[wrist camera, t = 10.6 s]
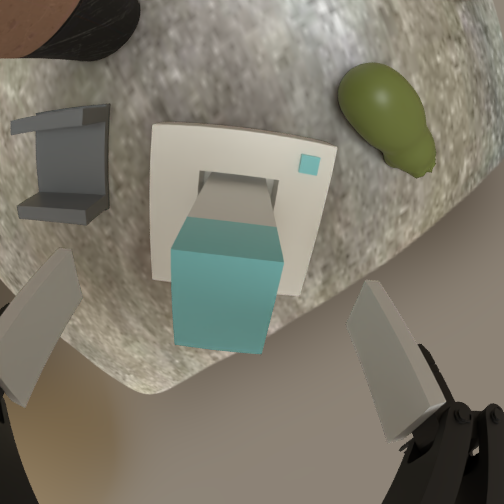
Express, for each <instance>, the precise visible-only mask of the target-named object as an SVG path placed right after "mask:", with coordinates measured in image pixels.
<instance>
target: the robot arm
mask: <svg viewBox="0 0 504 504" xmlns="http://www.w3.org/2000/svg"><path fill="white" fill-rule="evenodd" d="M82 298H83V296H82V292H81V288H80V284H79V280H78V276H77V272H76V268H75V263H74V258H73V254H72V249H66V248H58V249H57V250H56V251H55V252H54V253H53V254H52V255H51V256H50V258H49V259H48V260H47V261H46V262H45V263H44V264H43V265H42V266H41V267H40V268H39V270H38V271H37V272H36V273H35V274H34V275H33V276H32V278H31V279H30V280H29V281H28V282H27V283H26V285H25V286H24V287H23V288H22V289H21V291H20V292H19V293H18V294H17V296H16V297H15V298H14V299H13V301H12V302H11V303H8V304H6V305H5V306H4V307H2V308H1V309H0V504H39V503H38V501H37V499H36V496H35V494H34V492H33V490H32V487H31V485H30V483H29V480H28V478H27V475H26V473H25V470H24V467H23V465H22V462H21V459H20V456H19V453H18V450H17V447H16V443H15V440H14V436H13V433H12V429H11V426H10V421H9V417H8V412H7V408H6V403H5V400H4V398H3V394H4V392H5V394H6V395H7V396H8V397H9V398H10V399H11V401H13V402H15V403H17V404H19V405H21V406H23V407H26V405H27V402H28V400H29V397H30V396H31V393H32V391H33V389H34V387H35V384H36V382H37V380H38V378H39V376H40V374H41V372H42V369H43V368H44V366H45V364H46V362H47V360H48V357H49V356H50V354H51V352H52V350H53V348H54V346H55V344H56V343H57V341H58V339H59V337H60V335H61V334H62V332H63V330H64V328H65V327H66V325H67V323H68V321H69V320H70V318H71V316H72V315H73V313H74V311H75V310H76V308H77V306H78V305H79V303H80V302H81V300H82ZM346 327H347V329H348V332H349V335H350V337H351V340H352V342H353V345H354V347H355V350H356V353H357V356H358V358H359V361H360V364H361V366H362V369H363V372H364V374H365V378H366V380H367V383H368V386H369V389H370V392H371V395H372V398H373V400H374V403H375V407H376V409H377V413H378V416H379V419H380V422H381V425H382V428H383V431H384V435H385V438H386V441H387V443H391V442H395V441H399V440H402V439H404V438H405V437H406V436H408V435H409V434H410V433H412V434H413V438H412V439H411V440H410V441H408V442H407V443H406V444H404V445H403V446H402V447H401V448H400V449H399V451H402V450H404V449H405V448H407V450H406V451H405V452H404V453H405V455H404V457H403V460H402V462H401V465H400V467H399V469H398V472H397V474H396V476H395V478H394V480H393V482H392V485H391V487H390V488H389V491H388V493H387V494H386V496H385V498H384V500H383V502H382V504H504V412H503V410H502V408H501V407H499V406H498V405H497V404H494V403H493V404H490V405H488V406H487V407H486V408H485V409H484V410H483V411H471V410H470V408H469V407H468V406H467V405H466V404H464V403H462V402H455V401H454V399H453V397H452V394H451V392H450V390H449V388H448V387H447V385H446V382H445V380H444V378H443V376H442V375H441V373H440V372H439V369H438V367H437V365H436V364H435V361H434V360H433V358H432V356H431V354H430V352H429V351H428V350H427V349H426V348H425V347H424V346H423V345H422V344H417V343H416V341H415V339H414V338H413V336H412V334H411V332H410V331H409V329H408V327H407V325H406V324H405V322H404V320H403V319H402V317H401V315H400V314H399V312H398V310H397V309H396V307H395V305H394V304H393V302H392V300H391V299H390V297H389V296H388V294H387V293H386V291H385V289H384V288H383V286H382V285H381V283H380V282H379V281H374V280H365V282H364V284H363V287H362V289H361V291H360V294H359V296H358V298H357V301H356V303H355V305H354V307H353V309H352V312H351V314H350V316H349V318H348V321H347V322H346ZM478 446H479V453H478V454H476V455H475V456H473V453H472V451H473V450H474V449H476V448H477V447H478Z"/></svg>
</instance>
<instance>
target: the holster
mask: <svg viewBox="0 0 504 504" xmlns="http://www.w3.org/2000/svg"><path fill="white" fill-rule="evenodd" d="M109 110H110V104H102V105H91V106H81V107H73V108H66V109H59V110H52V111H46V112H41V113H36V116H31V117H26V118H22V119H17V120H13V121H11V135H14V134H20V133H26V132H32V131H36V161H37V175H38V186H39V192H38V193H37V194H35V195H33V196H32V197H30V198H28V199H27V200H25V201H24V202H22V203H20V204H19V205H17V210H18V215H19V219H29V220H39V221H49V222H59V223H69V224H78V225H88V224H89V223H90V222H91V221H92V220H93V219H94V218H95V217H97V216H98V215H99V214H100V213H101V212H102V211H104V210H107V209H109V194H108V126H109Z"/></svg>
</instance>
